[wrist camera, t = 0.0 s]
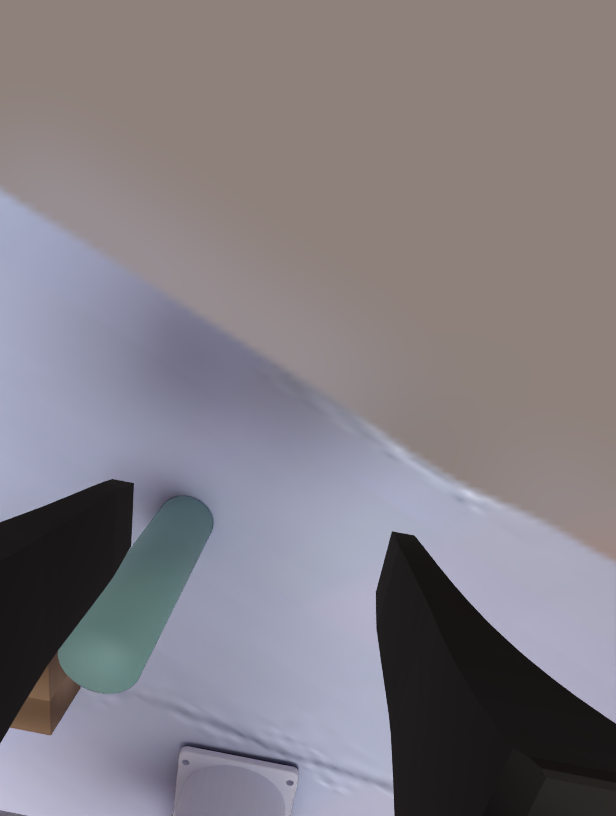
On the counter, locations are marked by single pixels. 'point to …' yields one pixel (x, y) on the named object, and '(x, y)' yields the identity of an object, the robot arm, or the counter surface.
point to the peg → (137, 600)
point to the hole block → (47, 700)
